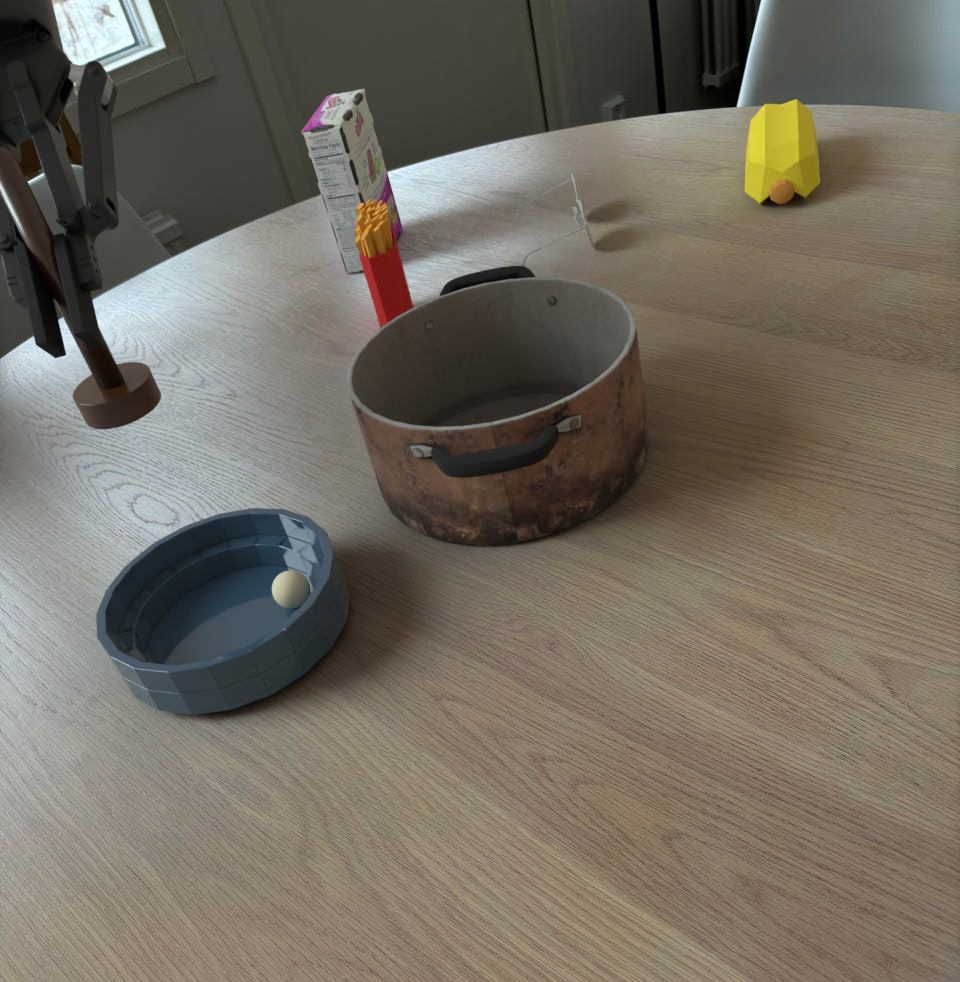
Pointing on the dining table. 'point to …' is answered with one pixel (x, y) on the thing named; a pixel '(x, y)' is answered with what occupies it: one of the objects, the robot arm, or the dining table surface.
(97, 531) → the dining table surface
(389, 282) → the french fries
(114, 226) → the robot arm
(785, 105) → the yellow faceted bell
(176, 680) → the bowl
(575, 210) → the eyeglasses frame
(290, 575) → the beige ball
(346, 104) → the candy bar box
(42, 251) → the brown plunger
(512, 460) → the cooking pot
